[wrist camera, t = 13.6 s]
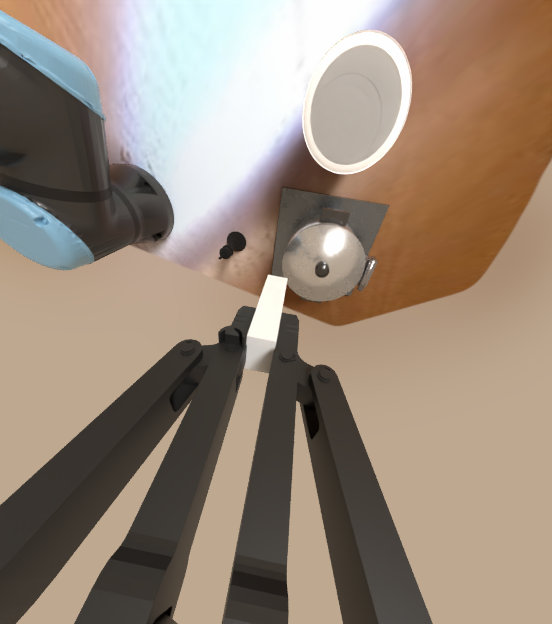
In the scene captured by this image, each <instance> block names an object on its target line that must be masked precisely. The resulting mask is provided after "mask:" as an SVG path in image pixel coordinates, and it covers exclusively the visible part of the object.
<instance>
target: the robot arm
mask: <svg viewBox="0 0 552 624" xmlns="http://www.w3.org/2000/svg"><path fill="white" fill-rule="evenodd" d="M104 121H106V119H105V116H104V114H103V112H102V106H101V100H100V93H99V87H98V83H97V80H96V78H95V76H94V74H93V73H92V71H91V70H90V69H89V67H88V66H87V65H86V64H85V63H84V62H83V61H82V60H81V59H79V58H78V57H76V56H75V55H73V54H72V53H70V52H69V51H67V50H65V49H64V48H62V47H61V46H59V45H57V44H56V43H54V42H52V41H51V40H49V39H47V38H46V37H44V36H43V35H41V34H39V33H38V32H36V31H34V30H33V29H31V28H29V27H28V26H26V25H24V24H23V23H21V22H19V21H18V20H16V19H14V18H13V17H11V16H9V15H8V14H6V13H4V12H3V11H1V10H0V238H1V239H2V240H3V241H4V242H5V243H7V244H8V245H9V246H11V247H12V248H13V249H15V250H16V251H17V252H19V253H20V254H22V255H23V256H25V257H27V258H29V259H30V260H32V261H34V262H36V263H38V264H41V265H43V266H46V267H49V268H52V269H57V270H71V269H75V268H78V267H80V266H83V265H86V264H91V263H93V262H94V261H96V260H99V259H100V258H103V257H105V256H107V255H109V254H111V253H113V252H115V251H117V250H119V249H122V248H124V247H126V246H128V245H130V244H132V243H155V242H158V241H160V240H162V239H164V238H166V237H167V236H168V235H169V234H170V232H171V231H172V228H173V224H174V214H173V209H172V205H171V203H170V200H169V198H168V196H167V194H166V192H165V191H164V189H163V188H162V186H161V185H160V184H159V183H158V181H157V180H156V179H155V178H154V177H153V176H151V175H150V174H149V173H148V172H146V171H145V170H143V169H141V168H139V167H137V166H135V165H131V164H113V165H110V166H109V160H108V151H107V143H106V134H105V125H104ZM287 280H288V278H283V277H278V276H273V275H268V277H267V280H266V282H265V285H264V288H263V291H262V294H261V297H260V300H259V302H258V305H257V308H253V307H248V306H243V307H241V308H240V309H239V310H238V312H237V314H236V316H235V318H234V321H233V323H232V325H231V326H227V327H224V328H222V329H221V330H220V331H219V334H218V335H219V343H217V344H214V345H204V346H201V344H200V342H198V341H197V340H192V339H190V340H184V341H181V342H180V343H178V344H177V345H176V346H174V347H173V348H172V349H171V350H170V351H169V352H168V353H167V354H166V355H165V356H164V357H163V358H161V359H160V360H159V361H158V362H157V363H156V364H155V365H154V366H153V367H151V368H150V369H149V370H148V371H147V372H146V373H145V374H144V375H143V376H142V377H140V379H138V380H137V381H136V382H135V383H134V384H133V385H132V386H131V387H130V388H128V389H127V390H126V391H125V392H124V393H123V394H122V395H121V396H120V397H119V398H117V399H116V400H115V401H114V402H113V403H112V404H111V405H110V406H109V407H108V408H107V409H106V410H104V411H103V412H102V413H101V414H100V415H99V416H98V417H97V418H96V419H94V420H93V421H92V422H91V423H90V424H89V425H88V426H87V427H86V428H85V429H84V430H82V431H81V432H80V433H79V434H78V435H77V436H76V437H75V438H74V439H73V440H71V442H69V443H68V444H67V445H66V446H65V447H64V448H63V449H62V450H60V451H59V452H58V453H57V454H56V455H55V456H54V457H53V458H52V459H51V460H50V461H48V462H47V463H46V464H45V465H44V466H43V467H42V468H41V469H40V470H39V471H37V473H35V474H34V475H33V476H32V477H31V478H30V479H29V480H28V481H27V482H25V483H24V484H23V485H22V486H21V487H20V488H19V489H18V490H17V491H16V492H14V494H12V495H11V496H10V497H9V498H8V499H7V500H6V501H5V502H3V503H2V504H1V505H0V624H16V623H17V622H18V620H19V619H20V618H21V617H22V616H23V615H24V614H25V613H26V612H27V610H28V609H29V608H30V607H31V606H32V605H33V604H34V603H35V601H36V600H37V599H38V598H39V596H40V595H41V594H42V593H43V592H44V590H45V589H46V588H47V587H48V585H49V584H50V583H51V582H52V581H53V579H54V578H55V577H56V576H57V574H58V573H59V572H60V570H61V569H62V568H63V567H64V565H65V564H66V563H67V561H68V560H69V559H70V557H71V556H72V555H73V553H74V552H75V551H76V550H77V548H78V547H79V546H80V544H81V543H82V542H83V540H84V539H85V538H86V537H87V535H88V534H89V533H90V531H91V530H92V529H93V528H94V526H95V525H96V524H97V522H98V521H99V520H100V518H101V517H102V516H103V515H104V513H105V512H106V511H107V509H108V508H109V506H110V505H111V504H112V503H113V501H114V500H115V499H116V498H117V496H118V495H119V494H120V492H121V491H122V490H123V489H124V487H125V486H126V485H127V483H128V482H129V481H130V479H131V478H132V476H134V474H135V473H136V471H137V470H138V469H139V468H140V466H141V465H142V464H143V463H144V461H145V460H146V459H147V457H148V456H149V455H150V453H151V452H152V451H153V449H154V448H155V447H156V445H157V444H158V443H159V442H160V440H161V439H162V438H163V436H164V435H165V434H166V433H167V431H168V430H169V429H170V427H171V426H172V425H173V423H174V422H175V421H176V420H177V418H178V417H179V416H180V414H181V413H182V412H183V410H184V409H185V408H186V407H187V405H188V404H189V403H190V401H191V400H192V401H191V403H190V405H189V407H188V409H187V411H186V414H185V416H184V418H183V420H182V422H181V424H180V426H179V428H178V430H177V432H176V434H175V436H174V438H173V441H172V443H171V445H170V447H169V449H168V451H167V453H166V455H165V457H164V460H163V461H162V463H161V466H160V468H159V470H158V472H157V474H156V476H155V478H154V480H153V482H152V485H151V487H150V488H149V491H148V493H147V495H146V497H145V499H144V501H143V503H142V505H141V507H140V510H139V511H138V514H137V516H136V518H135V520H134V522H133V524H132V526H131V528H130V530H129V533H128V534H127V536H126V538H125V540H124V541H123V543H122V544H121V546H120V547H119V548H118V549H117V551H116V552H115V553H114V554H113V555H112V556H111V558H110V559H109V560H108V562H107V563H106V565H105V567H104V568H103V570H102V571H101V573H100V575H99V576H98V578H97V580H96V582H95V584H94V586H93V588H92V589H91V592H90V593H89V595H88V598H87V600H86V601H85V603H84V605H83V607H82V609H81V611H80V613H79V615H78V617H77V619H76V621H75V623H74V624H177V623H176V622H175V621H174V620H173V619H172V618H173V614H174V611H175V608H176V604H177V600H178V597H179V594H180V591H181V587H182V584H183V580H184V577H185V573H186V569H187V564H188V558H189V554H190V550H191V546H192V543H193V540H194V536H195V533H196V529H197V526H198V523H199V520H200V516H201V513H202V510H203V506H204V503H205V500H206V496H207V493H208V490H209V486H210V483H211V480H212V476H213V473H214V470H215V466H216V463H217V460H218V456H219V453H220V450H221V446H222V443H223V440H224V436H225V433H226V430H227V427H228V423H229V420H230V417H231V413H232V410H233V406H234V403H235V400H236V397H237V393H238V390H239V387H240V383H241V380H242V374H243V369H244V366H245V369H250V370H256V371H260V372H265V373H269V378H268V382H267V387H266V393H265V398H264V403H263V409H262V414H261V420H260V425H259V430H258V435H257V441H256V446H255V451H254V456H253V462H252V467H251V473H250V478H249V483H248V488H247V493H246V500H245V504H244V510H243V515H242V520H241V526H240V531H239V537H238V542H237V546H236V552H235V557H234V562H233V567H232V572H231V578H230V583H229V588H228V594H227V599H226V604H225V609H224V615H223V621H222V624H288V593H287V592H288V591H287V575H286V574H287V553H288V536H289V517H290V501H291V482H292V464H293V447H294V429H295V412H296V401H298V402H300V407H301V412H302V417H303V422H304V427H305V432H306V437H307V442H308V447H309V452H310V457H311V463H312V468H313V473H314V478H315V483H316V488H317V493H318V498H319V503H320V508H321V513H322V519H323V524H324V529H325V534H326V539H327V543H328V549H329V554H330V559H331V564H332V569H333V574H334V579H335V585H336V589H337V595H338V600H339V605H340V610H341V615H342V620H343V624H432V621H431V619H430V616H429V614H428V611H427V608H426V606H425V603H424V600H423V598H422V595H421V592H420V590H419V587H418V585H417V582H416V580H415V577H414V574H413V572H412V569H411V566H410V564H409V561H408V559H407V556H406V554H405V551H404V548H403V546H402V543H401V540H400V538H399V535H398V533H397V530H396V527H395V525H394V522H393V520H392V517H391V514H390V512H389V509H388V507H387V504H386V501H385V499H384V496H383V494H382V491H381V489H380V486H379V483H378V481H377V478H376V475H375V473H374V470H373V468H372V465H371V462H370V460H369V457H368V455H367V452H366V449H365V447H364V444H363V442H362V439H361V436H360V434H359V431H358V428H357V426H356V423H355V421H354V418H353V415H352V413H351V410H350V408H349V405H348V402H347V400H346V397H345V395H344V392H343V389H342V387H341V385H340V382H339V379H338V376H337V374H336V373H335V371H334V370H333V369H331V368H330V367H328V366H326V365H316V366H315V367H313V366H311V365H309V364H307V363H305V362H304V361H303V360H302V359H301V358H300V357H299V355H298V352H297V347H298V331H299V320H298V318H297V316H296V315H292V314H286V313H282V308H283V302H284V296H285V291H286V285H287Z"/></svg>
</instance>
